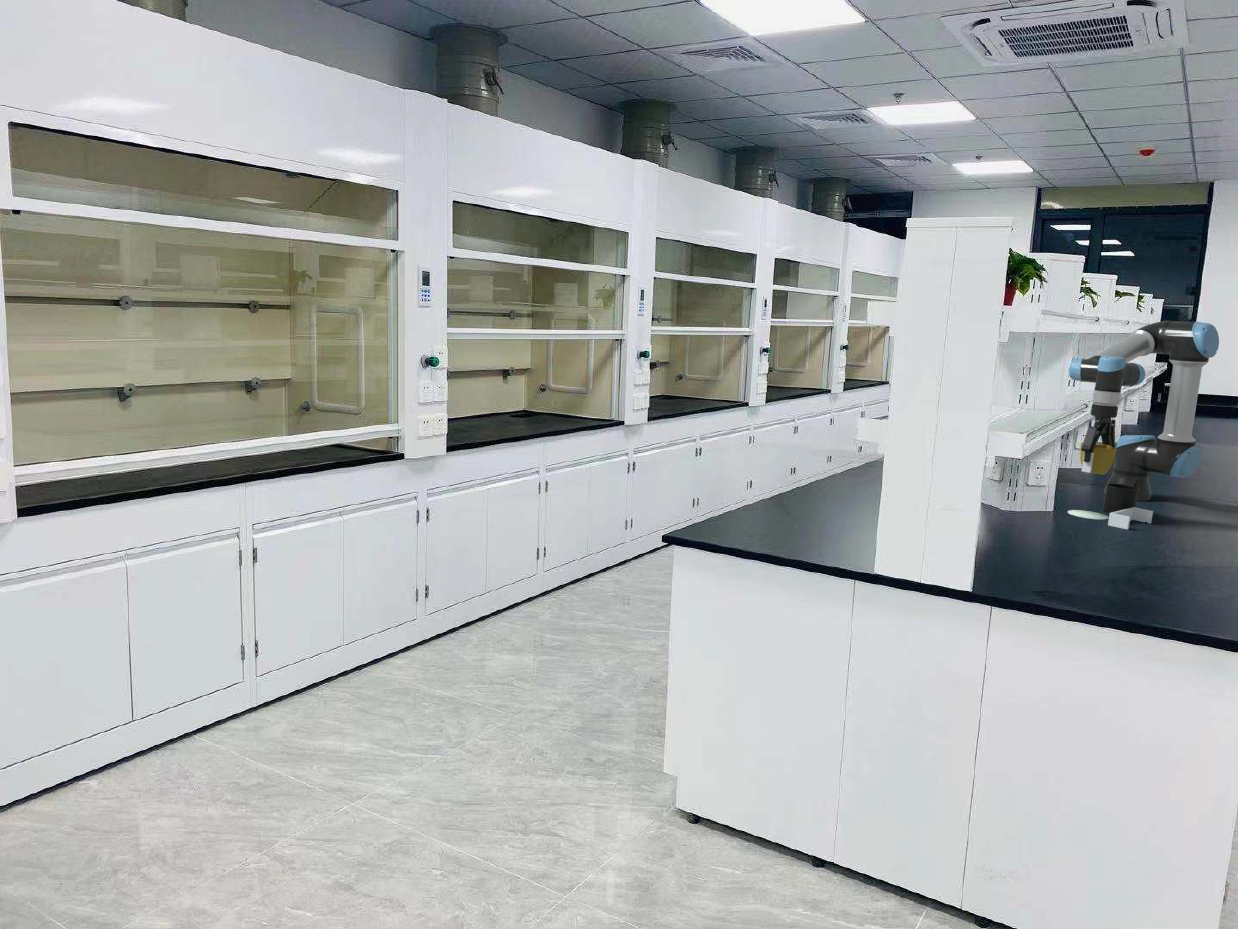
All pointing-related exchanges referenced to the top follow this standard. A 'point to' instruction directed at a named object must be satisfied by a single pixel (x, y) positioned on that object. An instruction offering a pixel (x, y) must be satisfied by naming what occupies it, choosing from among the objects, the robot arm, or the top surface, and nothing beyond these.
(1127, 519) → the bracket
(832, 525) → the top surface
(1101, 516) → the pad
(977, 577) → the top surface
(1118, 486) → the mug
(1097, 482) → the top surface
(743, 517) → the top surface
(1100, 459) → the flower pot
